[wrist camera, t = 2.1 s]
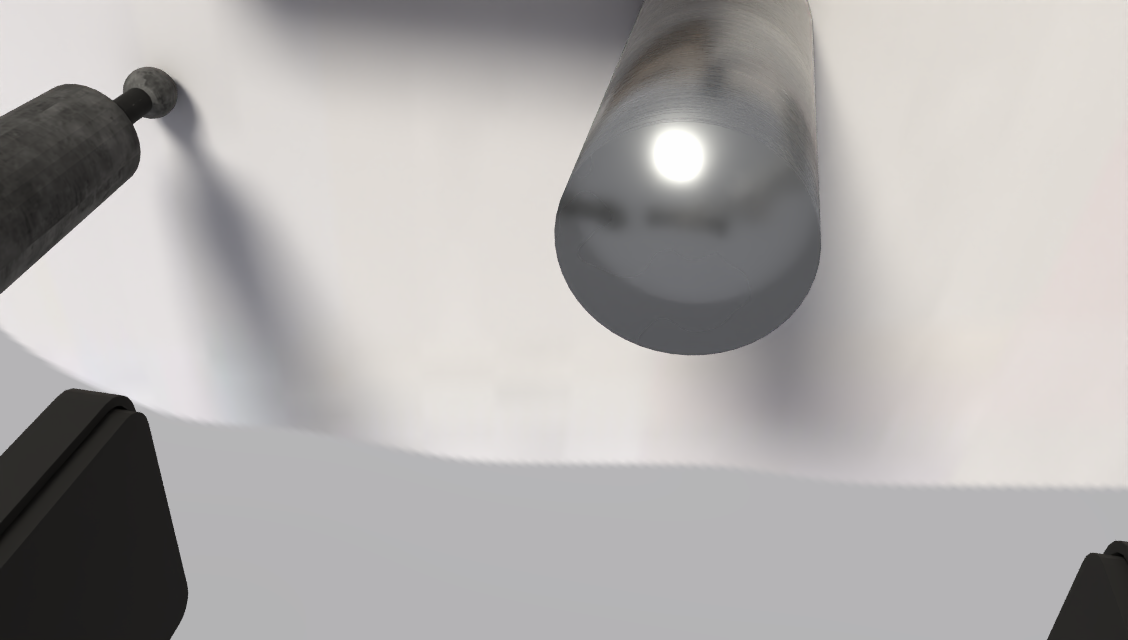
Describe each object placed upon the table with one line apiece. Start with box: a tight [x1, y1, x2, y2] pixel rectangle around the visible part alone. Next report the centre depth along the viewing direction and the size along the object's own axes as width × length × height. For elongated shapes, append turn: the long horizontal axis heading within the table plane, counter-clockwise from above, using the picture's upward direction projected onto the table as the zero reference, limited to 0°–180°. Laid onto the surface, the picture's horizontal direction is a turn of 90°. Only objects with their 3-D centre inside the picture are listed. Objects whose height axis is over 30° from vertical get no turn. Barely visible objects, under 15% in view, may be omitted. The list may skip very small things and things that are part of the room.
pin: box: [555, 0, 821, 355], centre depth 20 cm, size 4×4×10 cm
